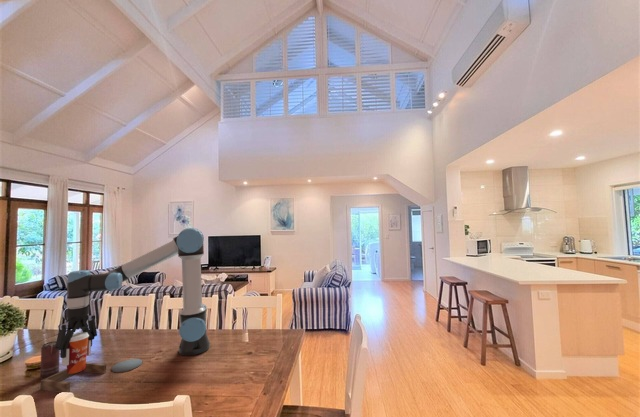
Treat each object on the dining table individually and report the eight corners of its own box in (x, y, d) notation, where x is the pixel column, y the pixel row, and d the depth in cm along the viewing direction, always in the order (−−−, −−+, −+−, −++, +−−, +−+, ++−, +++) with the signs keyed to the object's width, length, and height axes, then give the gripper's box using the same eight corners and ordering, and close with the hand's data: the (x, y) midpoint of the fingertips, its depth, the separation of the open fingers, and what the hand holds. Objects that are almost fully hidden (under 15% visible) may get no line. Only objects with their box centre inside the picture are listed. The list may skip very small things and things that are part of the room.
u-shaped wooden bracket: (106, 372, 129) (106, 364, 129) (66, 393, 113) (66, 384, 113) (82, 369, 132) (82, 361, 132) (40, 389, 116) (40, 380, 116)
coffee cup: (74, 375, 118) (74, 339, 119) (58, 374, 119) (59, 337, 120) (93, 366, 126) (94, 331, 127) (78, 364, 128) (79, 330, 128)
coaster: (148, 361, 139) (148, 359, 139) (126, 373, 127) (126, 372, 127) (127, 359, 142) (127, 357, 142) (104, 371, 130) (104, 369, 130)
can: (42, 380, 123) (44, 347, 123) (38, 376, 126) (39, 344, 127) (61, 374, 128) (62, 342, 129) (56, 370, 131) (57, 339, 132)
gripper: (95, 300, 135) (94, 348, 134) (43, 313, 115) (41, 371, 113) (107, 300, 134) (107, 349, 132) (57, 314, 113) (55, 373, 112)
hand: (76, 359), depth 123 cm, fingers closed on coffee cup, 8 cm apart
